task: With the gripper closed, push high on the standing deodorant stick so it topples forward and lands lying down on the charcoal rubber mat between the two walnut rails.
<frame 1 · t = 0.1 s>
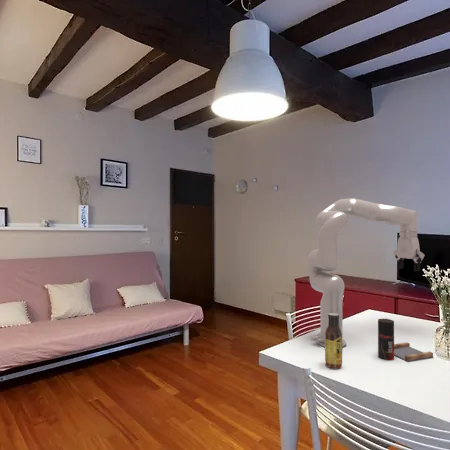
hand: (408, 269, 170), 31 cm above the table, tool pointing down, fingers open, 9 cm apart
side rails: (407, 354, 144), resting on mat
mat: (407, 354, 144), on the table
deodorant: (386, 358, 140), on the table
sauce bottle: (333, 366, 132), on the table
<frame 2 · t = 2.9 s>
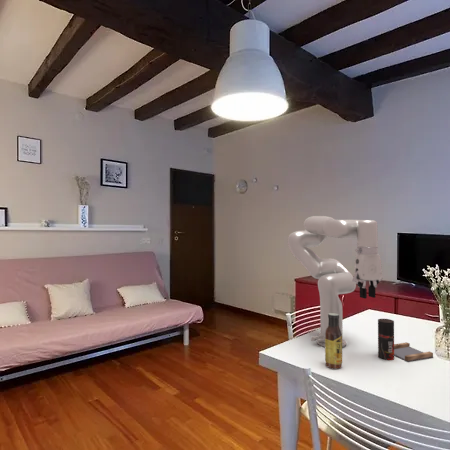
hand: (367, 296, 137), 25 cm above the table, tool pointing down, fingers open, 3 cm apart
nothing on the table moved.
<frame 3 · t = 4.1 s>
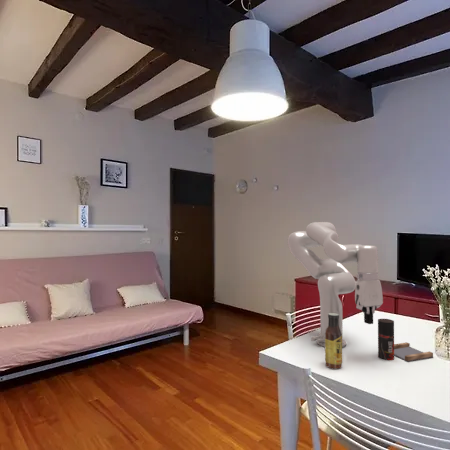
hand: (368, 323, 137), 15 cm above the table, tool pointing down, fingers closed
nothing on the table moved.
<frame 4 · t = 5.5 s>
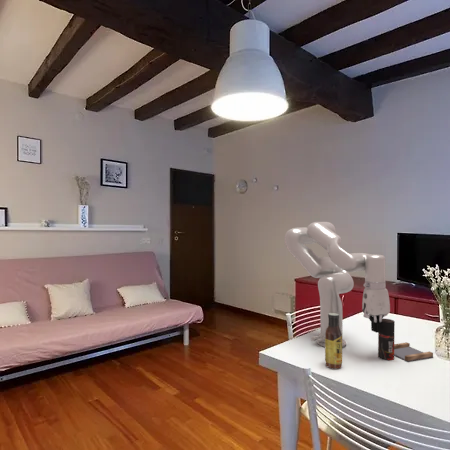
hand: (375, 331, 138), 11 cm above the table, tool pointing down, fingers closed
deodorant: (386, 358, 140), on the table, touching gripper
everything else where it was.
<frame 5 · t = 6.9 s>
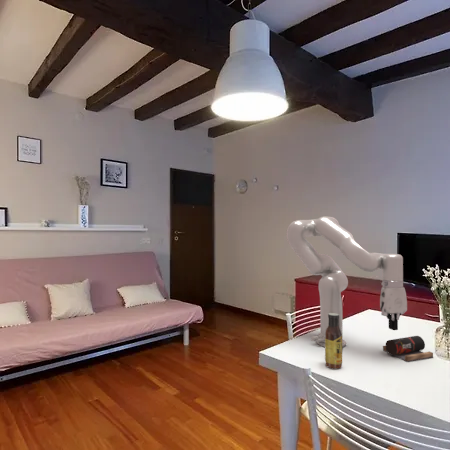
hand: (393, 329, 141), 11 cm above the table, tool pointing down, fingers closed
deodorant: (390, 347, 141), point 4 cm above the table, touching mat
everything else where it was.
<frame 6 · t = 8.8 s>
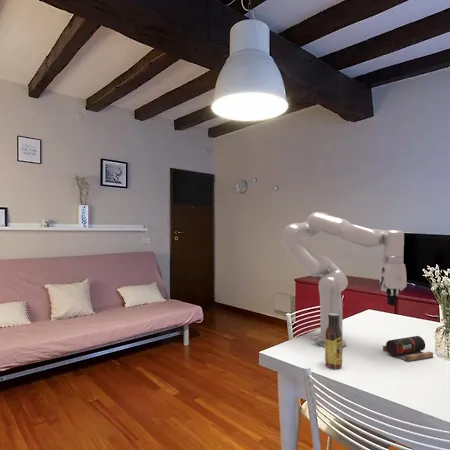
hand: (391, 304, 142), 21 cm above the table, tool pointing down, fingers closed
nothing on the table moved.
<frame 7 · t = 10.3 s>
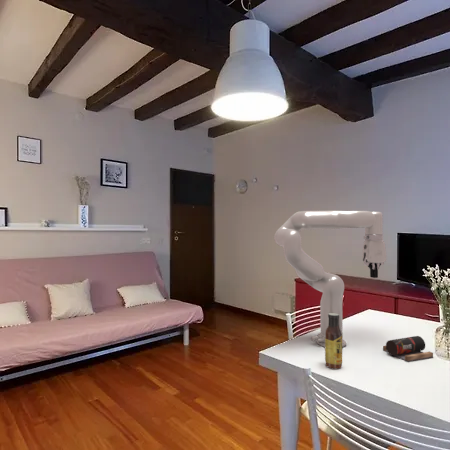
hand: (374, 277, 161), 29 cm above the table, tool pointing down, fingers closed
nothing on the table moved.
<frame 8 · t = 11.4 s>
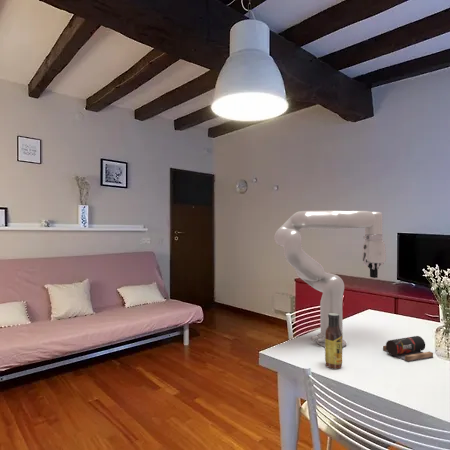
hand: (373, 277, 161), 29 cm above the table, tool pointing down, fingers closed
nothing on the table moved.
at the end: deodorant tilted 90°; deodorant 8.3 cm from the mat (horizontally); deodorant point 3.5 cm above the table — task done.
